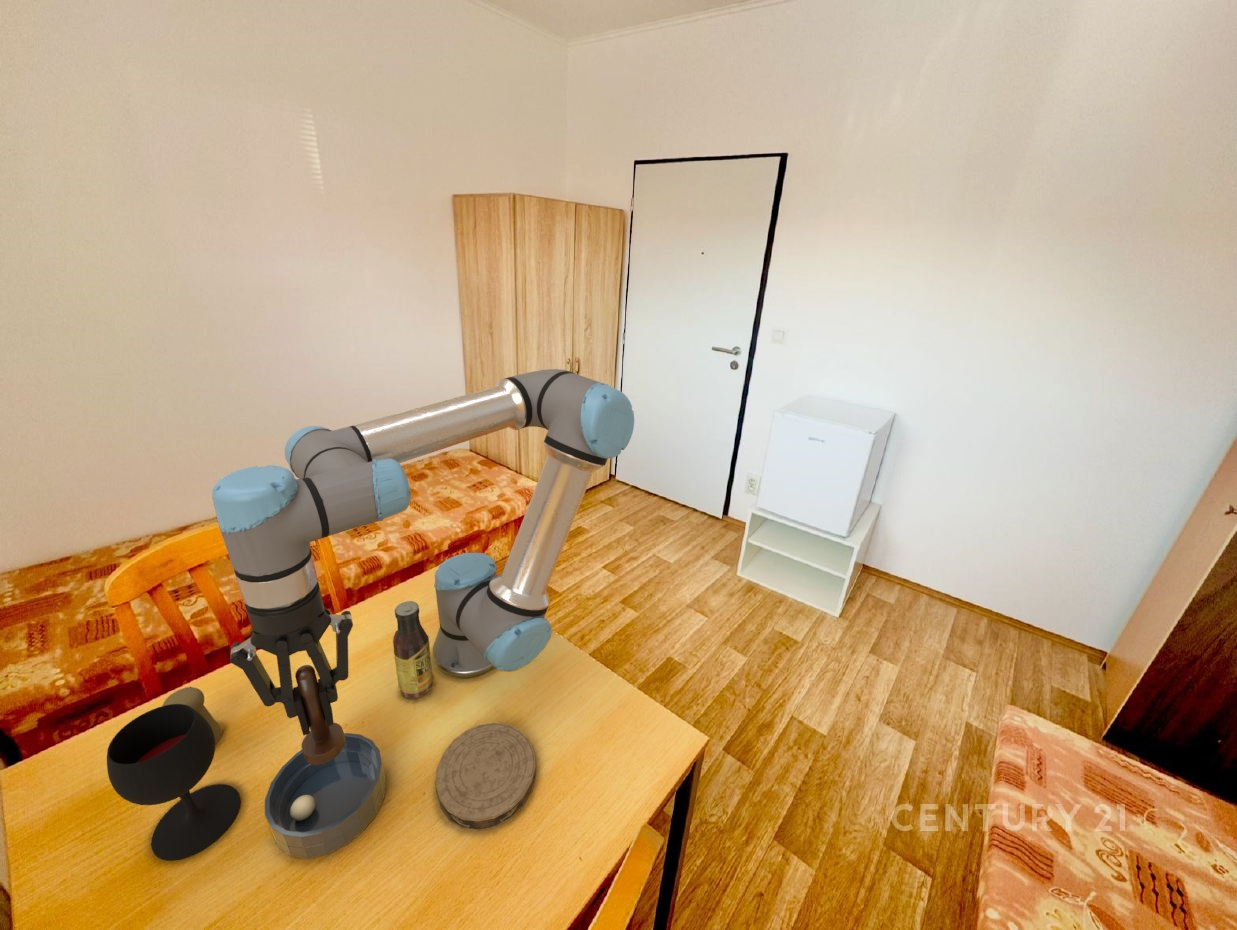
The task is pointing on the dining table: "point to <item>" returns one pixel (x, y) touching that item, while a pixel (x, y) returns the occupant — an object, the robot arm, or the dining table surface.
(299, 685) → the brown rubber stamp
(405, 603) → the sauce bottle
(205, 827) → the wine glass
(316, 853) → the bowl
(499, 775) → the tin can
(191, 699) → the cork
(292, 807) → the egg
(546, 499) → the robot arm
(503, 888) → the dining table surface
